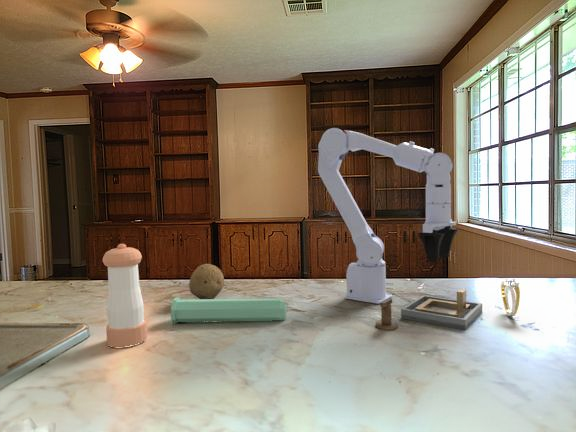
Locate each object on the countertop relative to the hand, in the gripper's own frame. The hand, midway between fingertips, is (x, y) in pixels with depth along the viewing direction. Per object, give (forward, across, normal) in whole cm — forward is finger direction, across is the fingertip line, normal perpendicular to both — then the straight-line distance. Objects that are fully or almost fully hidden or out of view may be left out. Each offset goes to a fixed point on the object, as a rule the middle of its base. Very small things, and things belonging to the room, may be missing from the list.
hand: (438, 259), depth 99 cm
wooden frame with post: (+10, -10, -4) cm, 15 cm away
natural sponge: (+11, -32, +48) cm, 59 cm away
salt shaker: (+11, -59, +40) cm, 72 cm away
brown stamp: (+10, -23, +2) cm, 26 cm away
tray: (+10, -10, -4) cm, 15 cm away
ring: (+10, -3, -16) cm, 20 cm away
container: (+11, -39, +32) cm, 52 cm away
